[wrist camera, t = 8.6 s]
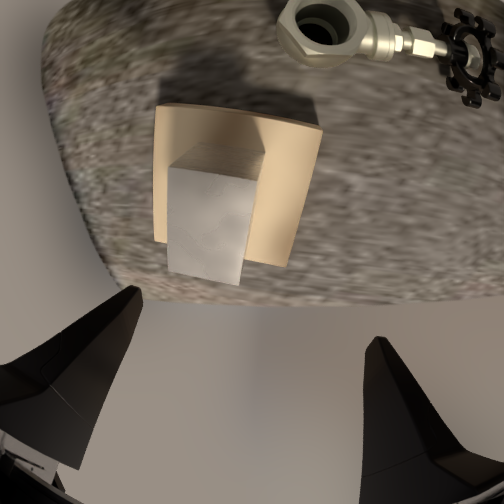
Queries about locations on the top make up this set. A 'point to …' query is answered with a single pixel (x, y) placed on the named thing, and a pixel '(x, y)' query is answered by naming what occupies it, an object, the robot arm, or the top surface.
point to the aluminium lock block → (212, 210)
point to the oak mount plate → (250, 137)
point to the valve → (392, 42)
